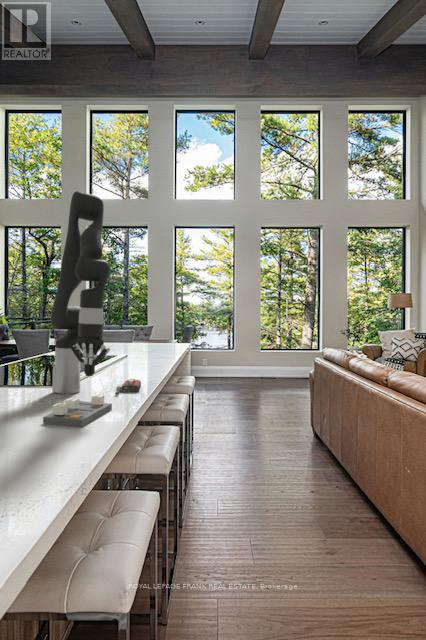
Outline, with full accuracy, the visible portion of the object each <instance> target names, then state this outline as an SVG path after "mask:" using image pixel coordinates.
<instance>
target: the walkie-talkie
mask: <svg viewBox="0 0 426 640" xmlns="http://www.w3.org/2000/svg"><path fill="white" fill-rule="evenodd" d="M141 387H142V381H141V380H140V379H136V378H129V379H127V380H125V381H124V382H123V383H121V384H118V385H117V386H116V390H115V391H116V392H115V395H117V396H118V394H119V393H139V392H140V390H141Z"/></svg>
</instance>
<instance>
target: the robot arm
mask: <svg viewBox="0 0 426 640" xmlns="http://www.w3.org/2000/svg"><path fill="white" fill-rule="evenodd" d="M104 209H105V205H104V201H103V199H102V197H100V196H98V195H95V194H92V193H87V192H83V191H77V190H76V191H74V192H73V194H72V196H71V199H70V204H69V213H68V214H69V215H68V224H67V225H68V226H67V232H66V239H65V245H64V249H63V254H62V259H61V265H60V273H59V279H58V284H57V288H56V289H57V290H56V294H55V297H54V301H53V304H52V308H51V313H50V323H51V326H52V328H53V329H54V330H58V331H59V330H60V331H61V330H63V331H64V330H67V332H66V333H65V334H64V335H63V336H61V337H60V338H57V339H56V340H55V343H54V344H55V348H54V349H55V351H54V355H55V356H54V357H55V358H54V360H55V361H54V366H53V367H52V388H51V389H52V393H54V394H55V393H56V394H59V395H60V394H61V395H68V394H69V395H70V394H76V393H77V394H78V393H80V392H81V363H82V364H83V365H84V370H83V371H84V374H85V376H86V377H93V376H94V374H95V373H96V371H95V368H96V367H95V366H96V364H98V363H101V362H102V360H104V358H105V357H106V355H107V354H108V353H109V352H110V351H111V348H110V347H107V346H106V345H105V343H104V339H103V336H104V320H105V319H104V294H105V288H106V285H107V282H108V280H109V276H110V273H111V268H110V264H109V262H108V261H107V260H105V259H102V257H103V241H102V235H103V234H102V233H103V227H104V226H103V225H104V224H103V223H104V222H103V221H104V214H105V213H104ZM79 219H81V220H84V221H90V222H91V224H90V225H89V226H88V227H87V228H86V229H85V230H84V231H83V232H82V233H81V231H80V228H79V225H80V224H79ZM82 282H97V284H96V285H95V286H94V287H89V288H84V289H81V291H80V296H79V297H80V299H79V302H80V303H79V306H78V305H69V302H70V299H71V296H72V295H73V293H74V292H75V290H76V289H77V288H78V287H79V285H80V284H81V283H82ZM99 351H100V353H99ZM98 353H99V354H98Z"/></svg>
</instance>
